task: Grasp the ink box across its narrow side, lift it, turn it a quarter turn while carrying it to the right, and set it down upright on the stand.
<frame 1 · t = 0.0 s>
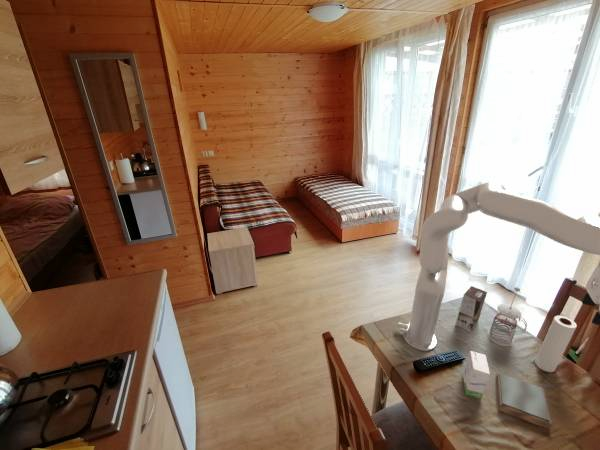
hand: (593, 314, 89), 31 cm above the table, fingers open, 9 cm apart
coffee box: (466, 323, 130), on the table
french press: (502, 338, 122), on the table
stand: (520, 401, 97), on the table
ink box: (471, 386, 103), on the table
paper towel roll: (545, 365, 110), on the table
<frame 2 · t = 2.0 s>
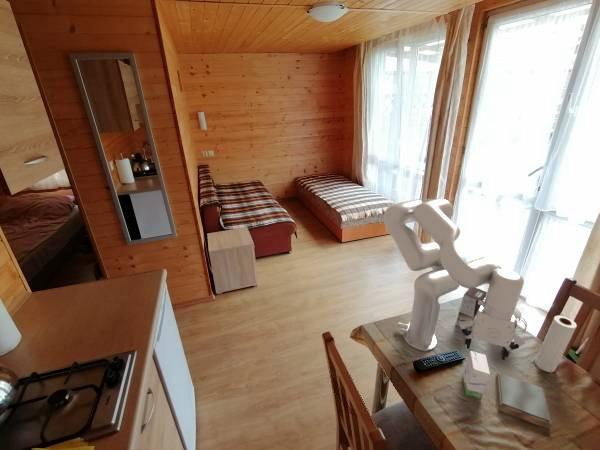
hand: (484, 351, 95), 17 cm above the table, fingers open, 9 cm apart
nothing on the table moved.
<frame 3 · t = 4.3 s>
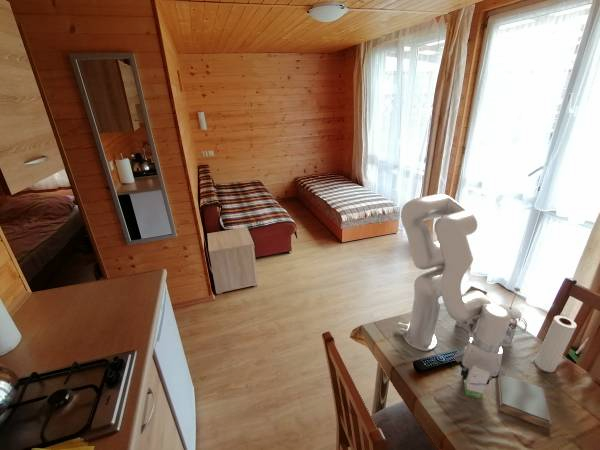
hand: (473, 380, 101), 3 cm above the table, fingers closed on ink box, 5 cm apart
ink box: (471, 386, 103), on the table, touching gripper
everything else where it was.
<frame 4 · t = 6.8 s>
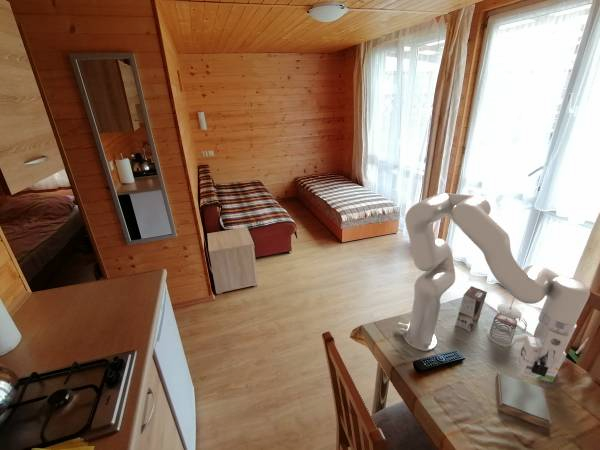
hand: (536, 365, 90), 17 cm above the table, fingers closed on ink box, 5 cm apart
ink box: (533, 372, 92), point 13 cm above the table, touching gripper
everything else where it was.
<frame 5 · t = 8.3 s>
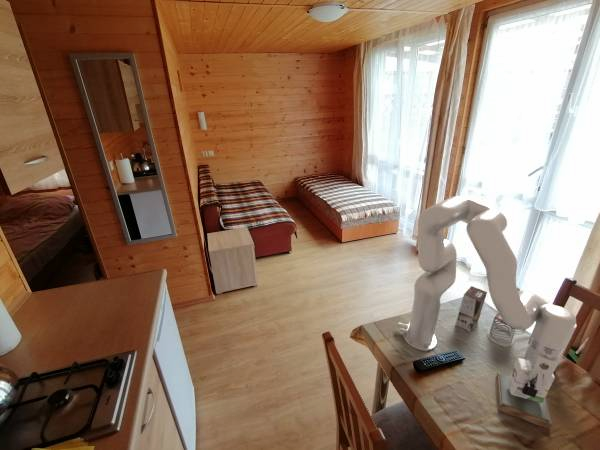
hand: (526, 386, 94), 7 cm above the table, fingers closed on ink box, 5 cm apart
ink box: (524, 393, 96), point 4 cm above the table, touching gripper
everything else where it was.
when the fingers open (7 cm above the table, at t = 9.3 s): ink box stays where it is, resting on stand.
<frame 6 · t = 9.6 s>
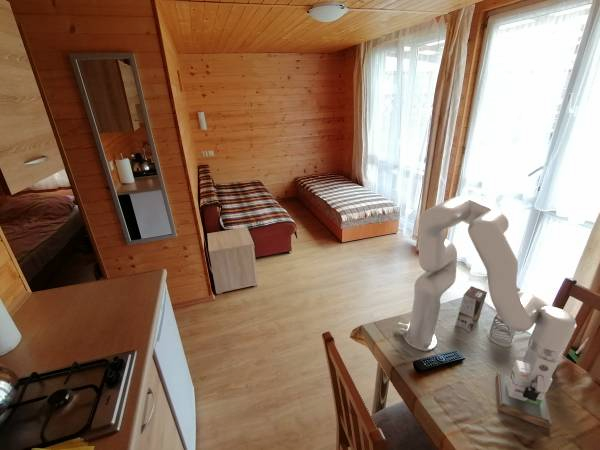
hand: (526, 386, 94), 7 cm above the table, fingers open, 8 cm apart
ink box: (522, 395, 96), point 3 cm above the table, touching stand
everything else where it was.
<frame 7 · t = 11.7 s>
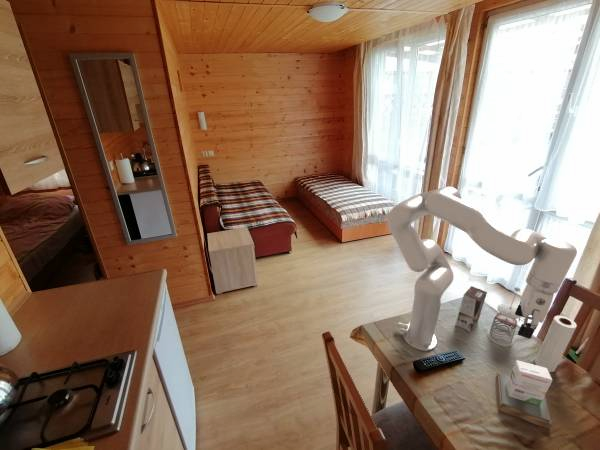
hand: (522, 325, 92), 26 cm above the table, fingers open, 9 cm apart
nothing on the table moved.
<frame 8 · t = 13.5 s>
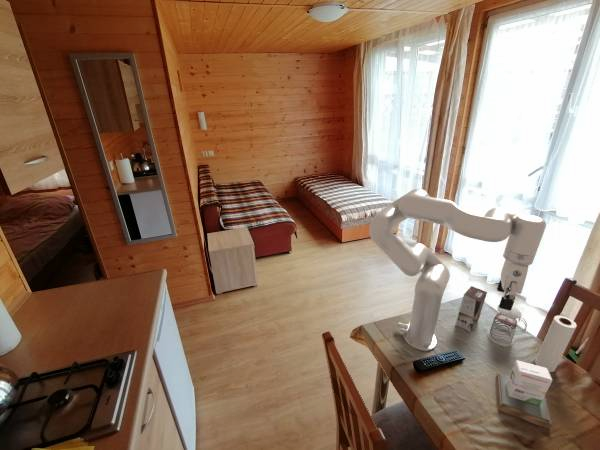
hand: (503, 299, 97), 30 cm above the table, fingers open, 9 cm apart
nothing on the table moved.
at the end: ink box inside the target area on the stand (0.1 cm from its centre), point 2.8 cm above the stand's base; ink box tilted 0°; the gripper is holding nothing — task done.
